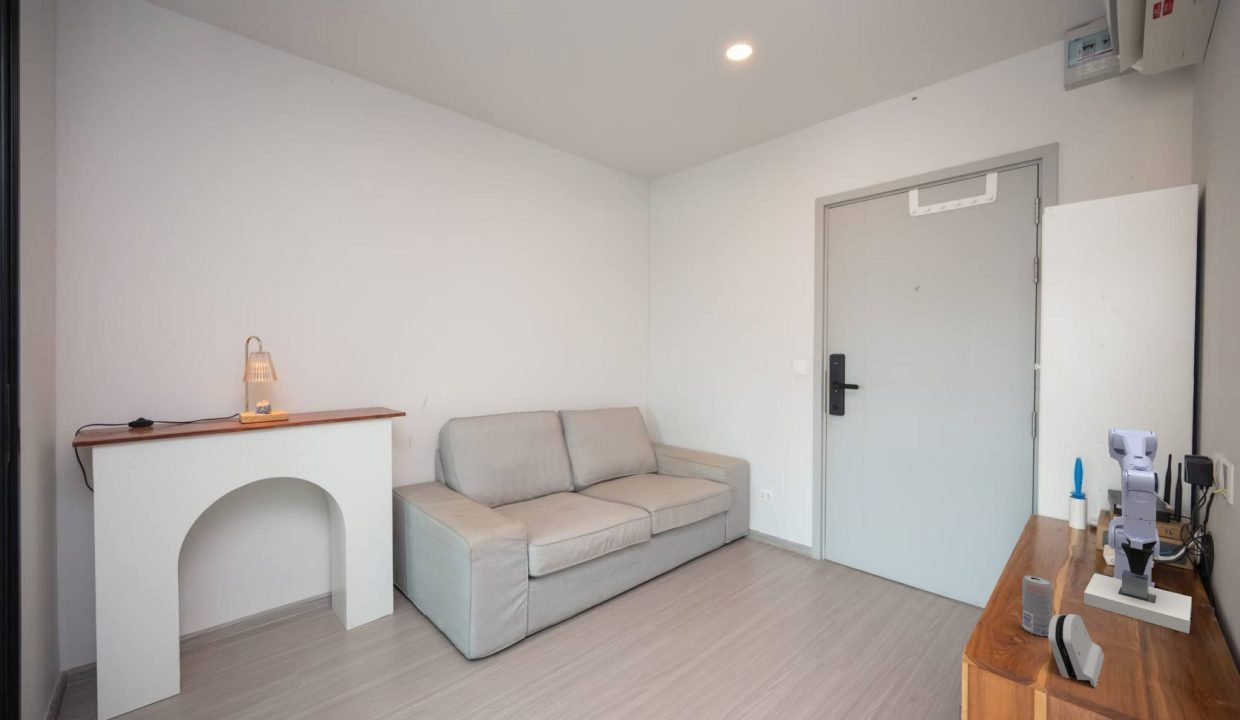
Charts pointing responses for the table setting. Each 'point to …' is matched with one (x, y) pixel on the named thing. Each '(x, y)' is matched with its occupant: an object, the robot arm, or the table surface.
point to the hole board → (1140, 603)
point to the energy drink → (1036, 604)
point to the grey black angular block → (1074, 648)
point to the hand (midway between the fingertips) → (1138, 569)
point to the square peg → (1135, 585)
